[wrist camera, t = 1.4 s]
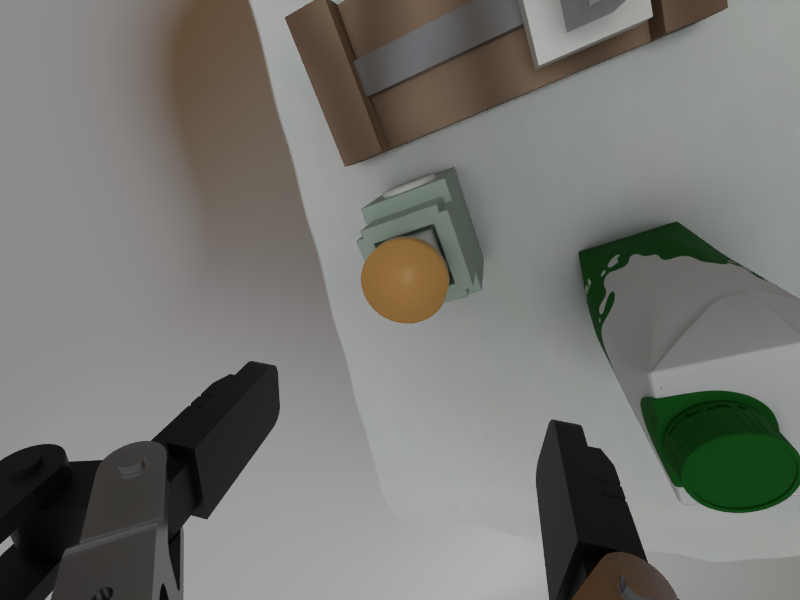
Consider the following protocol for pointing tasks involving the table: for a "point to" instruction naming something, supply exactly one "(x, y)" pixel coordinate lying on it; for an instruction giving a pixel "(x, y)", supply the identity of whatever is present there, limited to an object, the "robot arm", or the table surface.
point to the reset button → (406, 278)
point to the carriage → (576, 24)
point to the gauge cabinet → (429, 226)
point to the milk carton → (702, 364)
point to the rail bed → (438, 62)
